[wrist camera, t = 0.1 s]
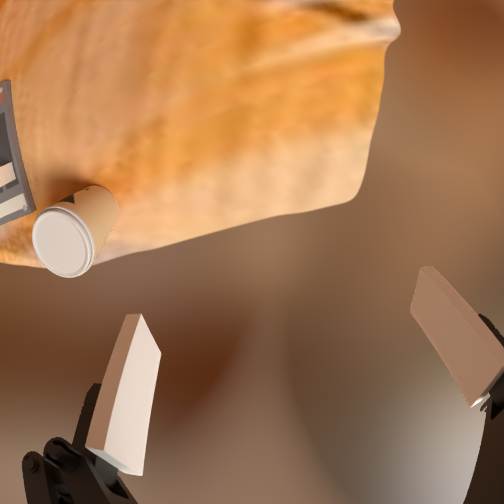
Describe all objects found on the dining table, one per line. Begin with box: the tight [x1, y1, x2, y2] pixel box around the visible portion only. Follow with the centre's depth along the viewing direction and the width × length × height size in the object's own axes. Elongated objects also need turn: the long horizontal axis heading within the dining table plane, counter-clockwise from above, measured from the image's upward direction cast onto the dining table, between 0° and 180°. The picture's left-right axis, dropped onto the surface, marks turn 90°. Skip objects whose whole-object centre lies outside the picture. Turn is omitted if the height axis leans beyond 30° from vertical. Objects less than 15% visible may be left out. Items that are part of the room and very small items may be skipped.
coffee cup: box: [32, 185, 119, 278], centre depth 32 cm, size 9×9×12 cm
